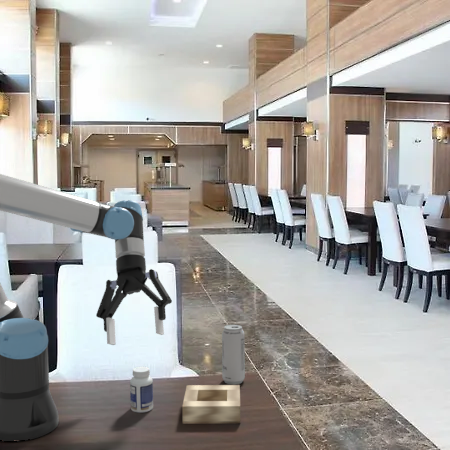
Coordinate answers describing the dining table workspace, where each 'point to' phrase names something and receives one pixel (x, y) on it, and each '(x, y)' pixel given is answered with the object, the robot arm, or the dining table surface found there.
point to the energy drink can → (233, 354)
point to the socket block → (211, 404)
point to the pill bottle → (141, 390)
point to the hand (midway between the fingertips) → (135, 339)
